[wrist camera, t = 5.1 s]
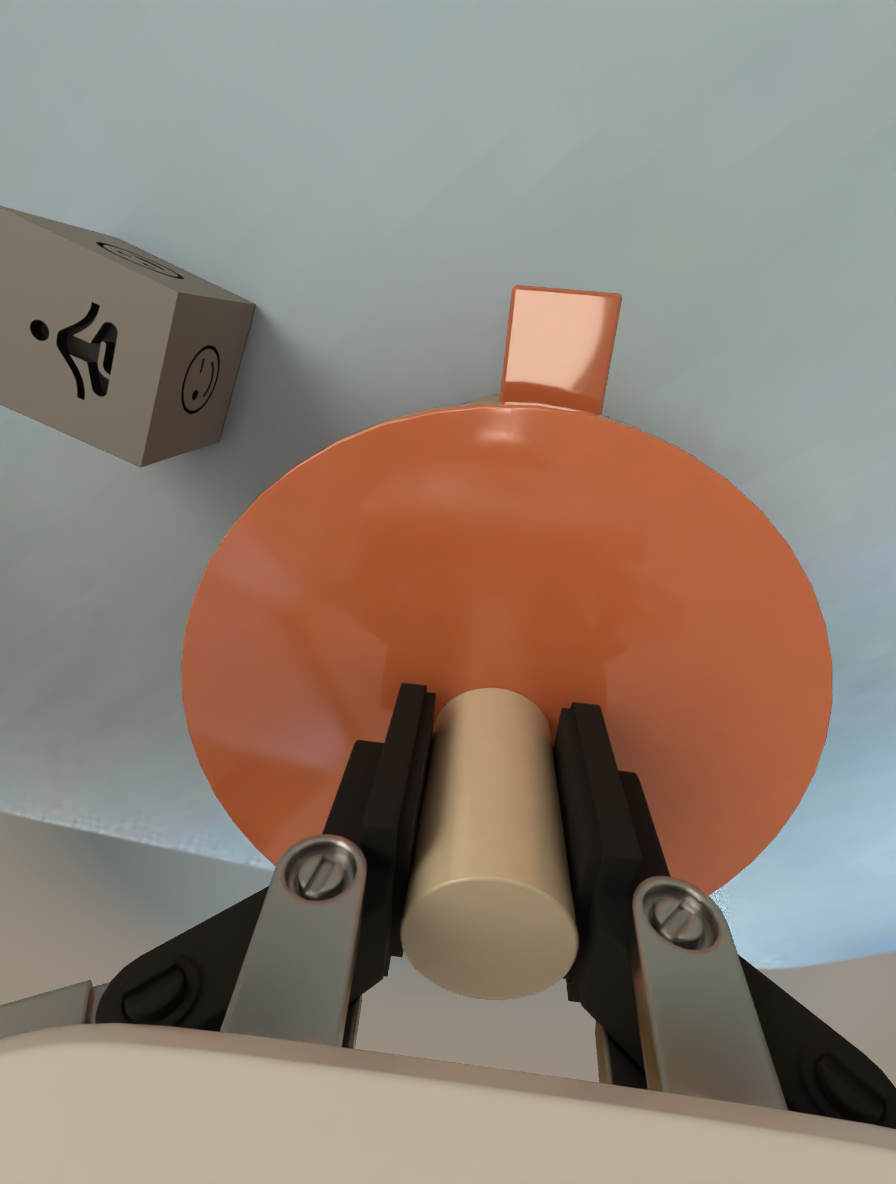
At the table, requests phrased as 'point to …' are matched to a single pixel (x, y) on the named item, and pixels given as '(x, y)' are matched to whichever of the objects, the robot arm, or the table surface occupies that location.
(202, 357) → the dice cube
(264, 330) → the table surface
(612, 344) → the pot
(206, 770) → the lid
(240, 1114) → the robot arm
